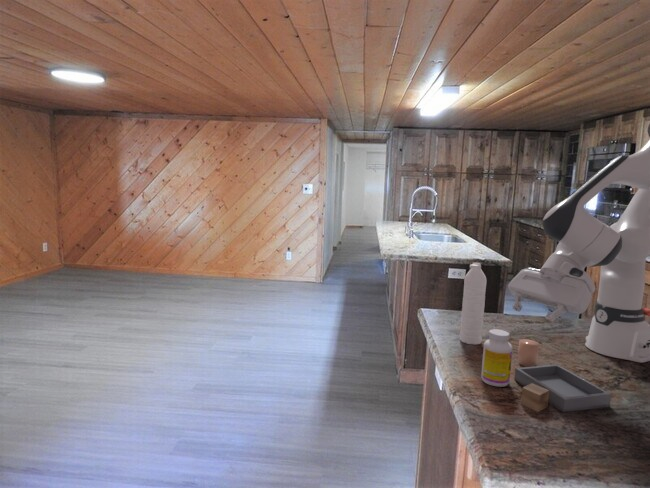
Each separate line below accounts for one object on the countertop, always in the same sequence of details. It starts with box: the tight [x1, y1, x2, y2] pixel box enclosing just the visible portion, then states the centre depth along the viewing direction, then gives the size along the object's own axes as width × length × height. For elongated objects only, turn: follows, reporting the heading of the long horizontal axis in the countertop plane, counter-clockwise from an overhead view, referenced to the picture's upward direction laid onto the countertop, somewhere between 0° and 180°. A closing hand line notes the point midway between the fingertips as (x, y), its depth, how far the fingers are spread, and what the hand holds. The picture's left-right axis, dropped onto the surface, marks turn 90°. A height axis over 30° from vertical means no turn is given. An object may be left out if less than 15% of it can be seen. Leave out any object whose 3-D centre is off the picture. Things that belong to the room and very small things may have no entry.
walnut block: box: [520, 383, 549, 413], centre depth 97 cm, size 4×4×4 cm
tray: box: [514, 363, 612, 413], centre depth 103 cm, size 13×16×3 cm
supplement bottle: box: [480, 328, 513, 388], centre depth 107 cm, size 7×7×13 cm
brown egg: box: [516, 338, 540, 367], centre depth 119 cm, size 5×5×6 cm
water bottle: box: [459, 262, 487, 345], centre depth 133 cm, size 9×6×25 cm
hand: (531, 314), depth 111 cm, fingers open, 8 cm apart
